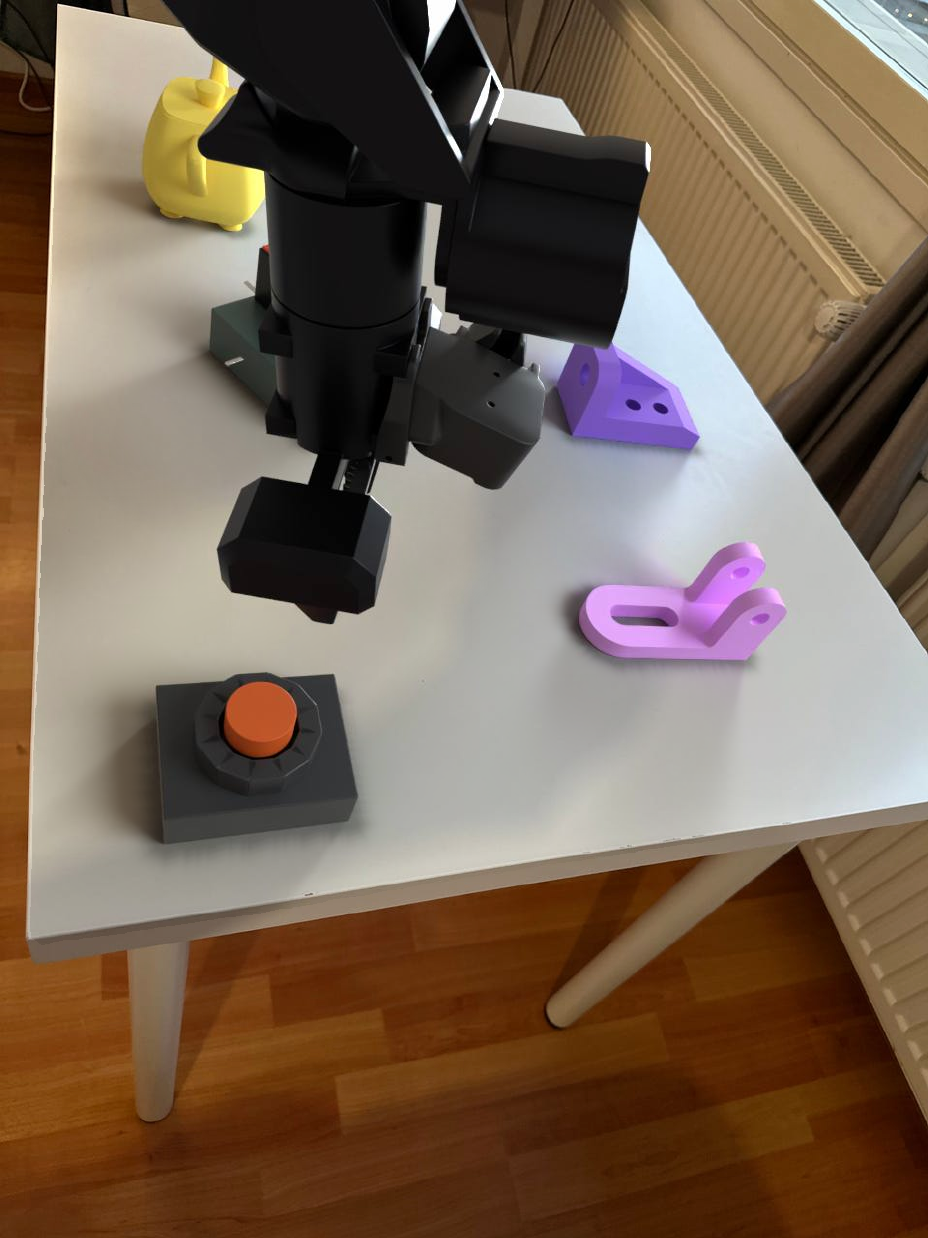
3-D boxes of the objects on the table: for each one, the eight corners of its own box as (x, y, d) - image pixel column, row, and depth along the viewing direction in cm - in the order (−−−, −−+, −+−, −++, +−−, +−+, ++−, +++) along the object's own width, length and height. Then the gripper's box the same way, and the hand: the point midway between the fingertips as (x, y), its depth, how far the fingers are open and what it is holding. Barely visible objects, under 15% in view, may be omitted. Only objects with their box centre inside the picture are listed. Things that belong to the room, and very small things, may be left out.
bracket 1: (572, 435, 77) (602, 372, 72) (556, 384, 81) (584, 321, 75) (692, 449, 80) (729, 390, 75) (671, 399, 84) (705, 340, 79)
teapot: (161, 140, 87) (161, 21, 79) (273, 168, 90) (284, 55, 82) (127, 237, 77) (123, 110, 68) (256, 265, 79) (267, 146, 71)
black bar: (360, 374, 68) (372, 322, 64) (345, 381, 67) (355, 328, 63) (270, 294, 71) (276, 240, 67) (254, 299, 70) (259, 244, 66)
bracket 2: (721, 601, 69) (768, 543, 64) (745, 660, 66) (796, 604, 61) (571, 594, 65) (607, 532, 60) (589, 656, 62) (629, 596, 57)
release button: (227, 761, 45) (229, 744, 44) (220, 701, 47) (222, 683, 46) (297, 754, 46) (301, 738, 45) (288, 696, 48) (291, 679, 47)
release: (163, 845, 46) (164, 804, 42) (155, 714, 51) (155, 666, 47) (349, 821, 50) (364, 782, 46) (326, 701, 54) (339, 656, 50)
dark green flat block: (428, 404, 74) (440, 364, 71) (286, 468, 65) (293, 426, 62) (311, 302, 78) (317, 260, 75) (163, 349, 69) (163, 304, 66)
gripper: (533, 489, 28) (472, 731, 40) (566, 201, 39) (511, 459, 52) (189, 428, 28) (234, 689, 40) (322, 157, 39) (325, 426, 52)
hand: (343, 551), depth 46 cm, fingers open, 9 cm apart
